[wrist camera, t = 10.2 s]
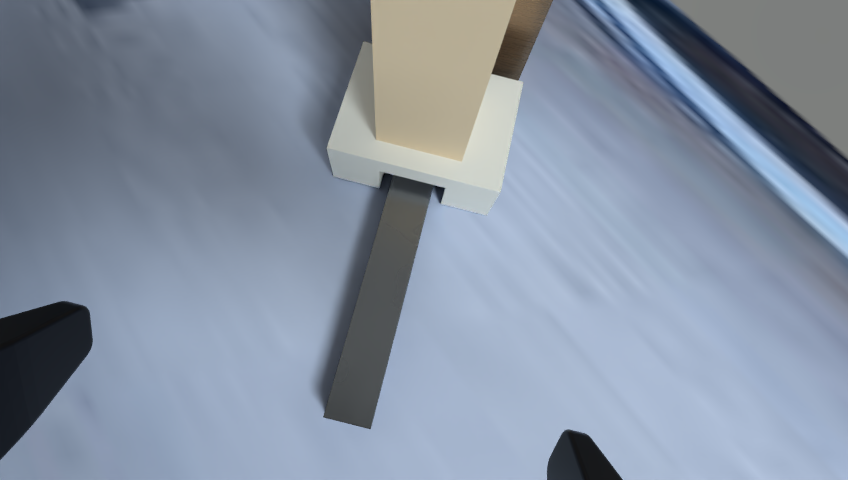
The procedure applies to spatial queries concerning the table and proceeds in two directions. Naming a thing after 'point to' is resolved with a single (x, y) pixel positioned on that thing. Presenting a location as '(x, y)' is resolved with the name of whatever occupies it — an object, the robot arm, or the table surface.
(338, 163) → the cream block on base
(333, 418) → the brown block with rod
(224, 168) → the table surface
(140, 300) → the table surface
